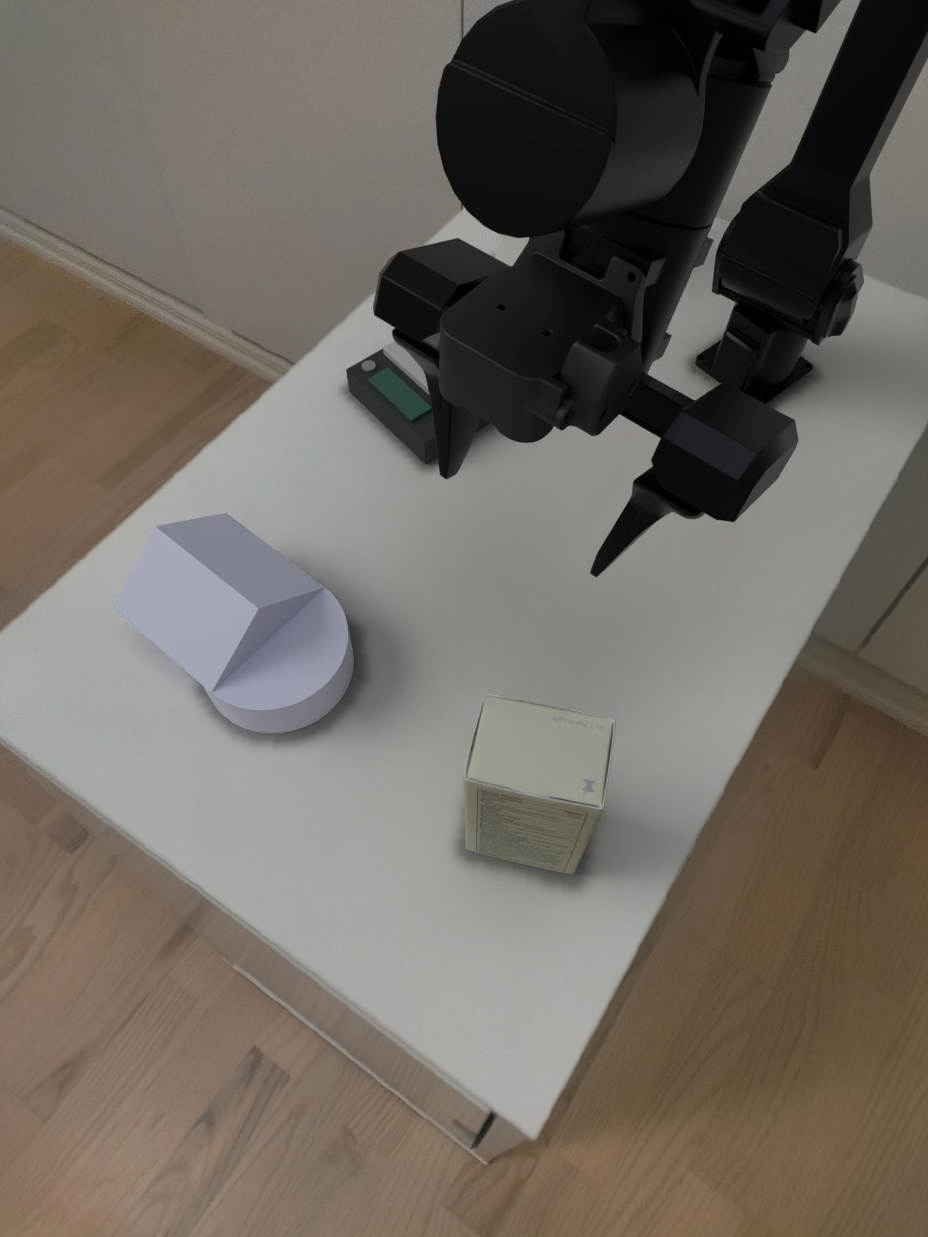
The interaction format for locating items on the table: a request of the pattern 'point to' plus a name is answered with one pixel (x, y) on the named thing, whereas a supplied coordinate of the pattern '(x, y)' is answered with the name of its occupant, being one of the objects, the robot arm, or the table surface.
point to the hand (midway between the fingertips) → (520, 522)
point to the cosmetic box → (535, 782)
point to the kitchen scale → (398, 397)
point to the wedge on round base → (241, 623)
